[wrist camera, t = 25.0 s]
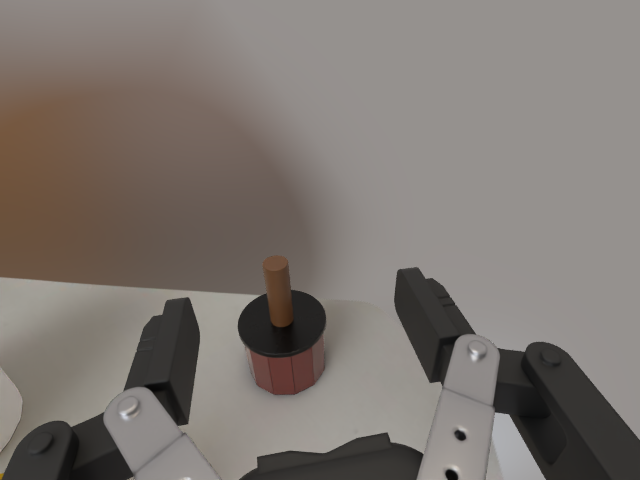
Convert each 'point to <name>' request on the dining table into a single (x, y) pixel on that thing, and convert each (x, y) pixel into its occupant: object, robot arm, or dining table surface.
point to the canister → (8, 408)
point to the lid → (281, 316)
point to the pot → (288, 370)
